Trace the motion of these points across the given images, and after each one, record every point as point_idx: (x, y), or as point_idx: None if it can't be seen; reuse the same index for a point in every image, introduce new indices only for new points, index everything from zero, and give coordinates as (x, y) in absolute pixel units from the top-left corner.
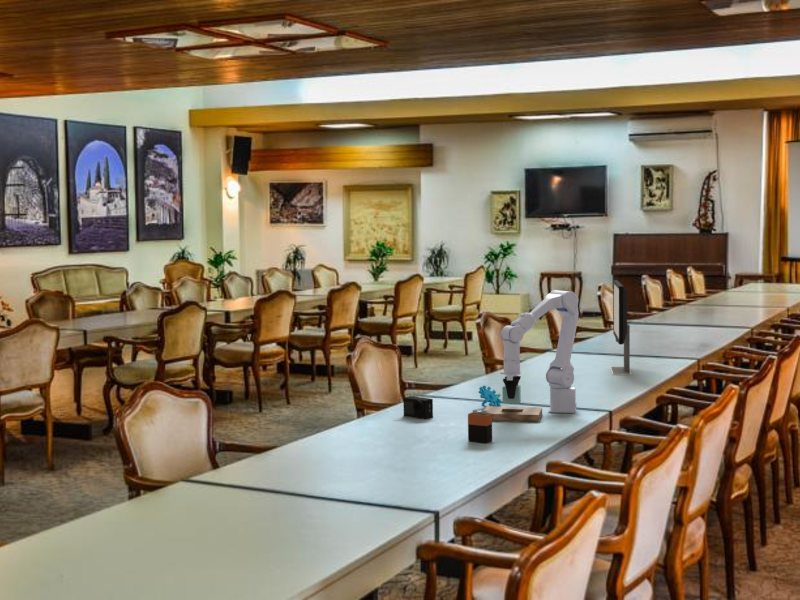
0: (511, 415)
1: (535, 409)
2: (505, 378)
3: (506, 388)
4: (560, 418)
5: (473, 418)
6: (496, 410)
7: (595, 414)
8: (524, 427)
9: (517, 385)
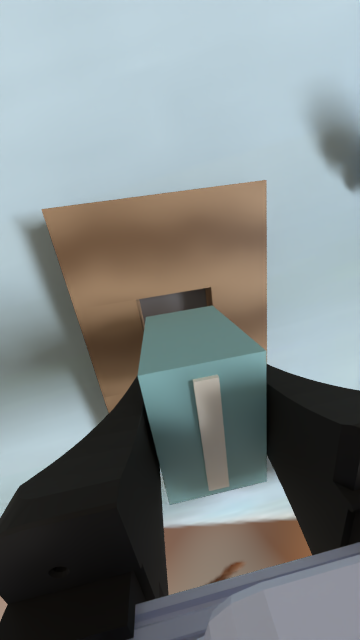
0: (93, 360)
1: None
2: (332, 424)
3: (104, 418)
4: None
5: None
6: (161, 268)
7: (272, 507)
8: (13, 418)
9: (223, 480)
